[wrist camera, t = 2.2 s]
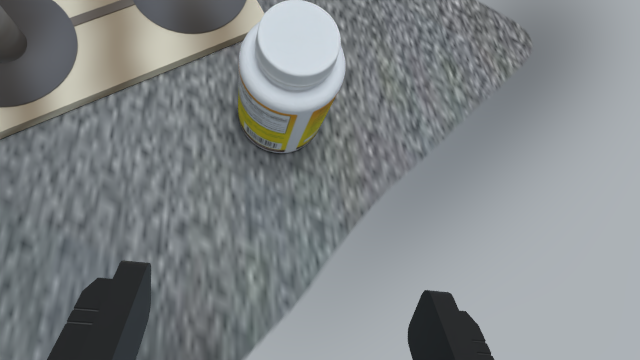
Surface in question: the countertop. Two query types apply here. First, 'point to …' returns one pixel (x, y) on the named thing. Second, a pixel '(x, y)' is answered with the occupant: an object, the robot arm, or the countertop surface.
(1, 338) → the countertop surface
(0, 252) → the countertop surface
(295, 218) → the countertop surface
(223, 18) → the peg stand
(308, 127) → the supplement bottle
